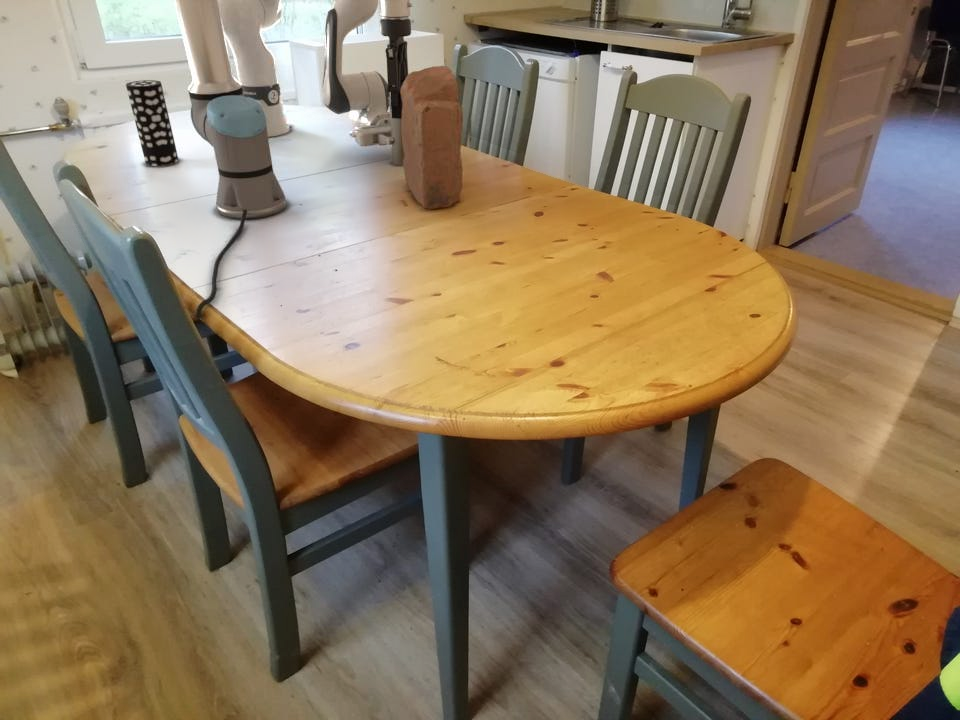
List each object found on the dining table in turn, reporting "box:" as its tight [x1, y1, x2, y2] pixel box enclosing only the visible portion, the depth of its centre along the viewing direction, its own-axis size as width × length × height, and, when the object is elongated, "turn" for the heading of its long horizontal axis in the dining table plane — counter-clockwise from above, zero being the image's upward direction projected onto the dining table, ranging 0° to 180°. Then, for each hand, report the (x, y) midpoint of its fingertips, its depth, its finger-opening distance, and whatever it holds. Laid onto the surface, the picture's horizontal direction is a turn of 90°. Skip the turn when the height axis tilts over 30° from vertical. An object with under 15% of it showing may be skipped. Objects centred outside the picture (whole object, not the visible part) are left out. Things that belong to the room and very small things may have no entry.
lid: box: [388, 95, 403, 108], centre depth 180 cm, size 6×6×2 cm
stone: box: [400, 65, 464, 210], centre depth 159 cm, size 22×11×28 cm, turn 18°
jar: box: [389, 107, 405, 167], centre depth 184 cm, size 5×5×16 cm
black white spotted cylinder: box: [125, 79, 179, 167], centre depth 181 cm, size 8×8×20 cm
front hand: (400, 115), depth 181 cm, fingers closed on lid, 6 cm apart
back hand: (402, 139), depth 184 cm, fingers closed on jar, 5 cm apart
